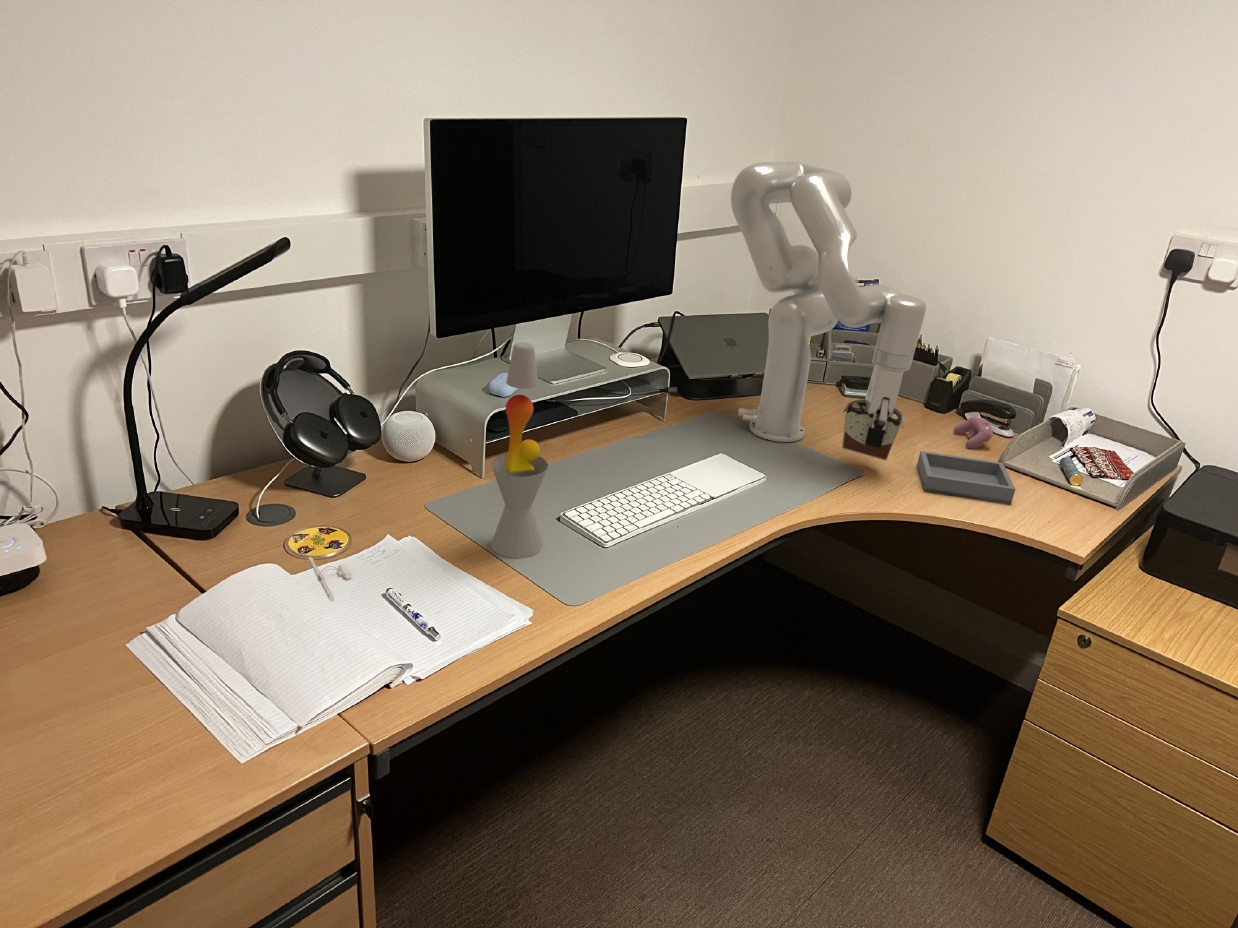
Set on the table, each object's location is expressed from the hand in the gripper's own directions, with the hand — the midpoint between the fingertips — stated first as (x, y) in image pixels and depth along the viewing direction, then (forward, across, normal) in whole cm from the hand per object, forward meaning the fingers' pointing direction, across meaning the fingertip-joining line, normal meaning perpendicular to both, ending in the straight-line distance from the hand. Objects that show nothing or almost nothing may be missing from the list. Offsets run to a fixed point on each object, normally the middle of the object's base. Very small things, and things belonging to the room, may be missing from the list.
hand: (871, 438), depth 184 cm
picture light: (+9, +72, -84) cm, 111 cm away
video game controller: (+7, -25, +26) cm, 37 cm away
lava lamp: (+8, +54, -60) cm, 81 cm away
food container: (+3, -1, 0) cm, 3 cm away
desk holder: (+6, +1, +20) cm, 21 cm away
